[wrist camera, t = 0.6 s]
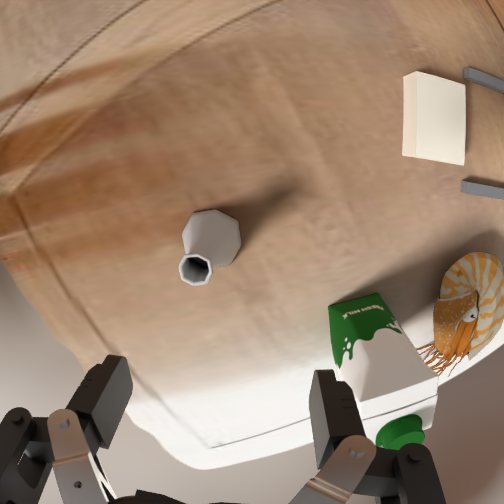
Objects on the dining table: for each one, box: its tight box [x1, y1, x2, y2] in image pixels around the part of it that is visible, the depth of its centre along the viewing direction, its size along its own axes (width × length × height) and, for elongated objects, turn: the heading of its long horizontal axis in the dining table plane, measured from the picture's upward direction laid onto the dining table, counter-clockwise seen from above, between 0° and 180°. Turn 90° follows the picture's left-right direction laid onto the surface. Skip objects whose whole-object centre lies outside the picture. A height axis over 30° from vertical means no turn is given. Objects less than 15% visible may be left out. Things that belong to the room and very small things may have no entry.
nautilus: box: [417, 251, 504, 377], centre depth 37 cm, size 8×22×15 cm
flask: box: [178, 209, 242, 286], centre depth 33 cm, size 7×7×10 cm
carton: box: [402, 71, 466, 166], centre depth 30 cm, size 10×7×4 cm
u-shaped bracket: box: [461, 67, 504, 200], centre depth 31 cm, size 17×14×2 cm
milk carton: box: [328, 293, 439, 450], centre depth 31 cm, size 9×9×20 cm
